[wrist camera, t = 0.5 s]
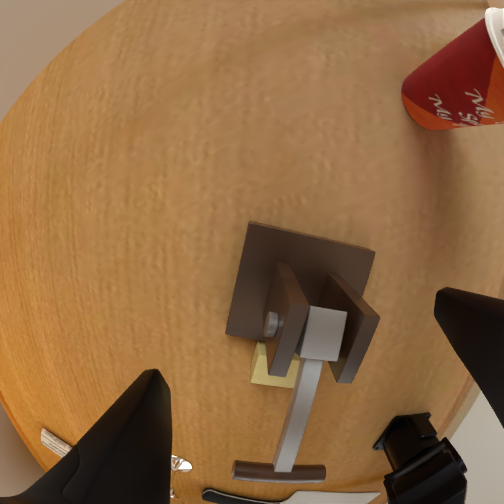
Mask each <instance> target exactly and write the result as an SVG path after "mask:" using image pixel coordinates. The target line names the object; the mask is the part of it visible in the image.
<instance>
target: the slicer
mask: <svg viewBox="0 0 504 504" xmlns="http://www.w3.org/2000/svg"><path fill="white" fill-rule="evenodd" d="M375 253H376V252H374V251H372V250H370V249H367V248H363V247H359V246H355V245H351V244H347V243H343V242H339V241H335V240H331V239H327V238H323V237H318V236H314V235H310V234H306V233H301V232H297V231H293V230H288V229H284V228H280V227H275V226H271V225H266V224H262V223H257V222H252V221H249V224H248V228H247V233H246V238H245V242H244V247H243V251H242V256H241V261H240V265H239V270H238V275H237V279H236V284H235V289H234V293H233V298H232V303H231V308H230V312H229V317H228V322H227V327H226V332H225V334H228V335H233V336H238V337H243V338H248V339H254V340H259V341H265V346H266V358H267V369H268V375H270V376H278V377H286V375H287V372H288V369H289V367H290V364H291V361H292V358H293V355H294V353H295V350H296V347H297V344H298V341H299V338H300V335H301V332H302V329H303V326H304V323H305V320H306V317H307V313H308V310H309V307H310V306H315V307H321V308H326V309H332V310H338V311H345V312H347V317H346V323H345V328H344V333H343V338H342V342H341V347H340V351H339V356H338V360H337V361H328V363H329V366H330V368H331V370H332V373H333V375H334V378H335V380H336V382H337V383H352V381H353V379H354V377H355V375H356V373H357V371H358V369H359V367H360V364H361V362H362V360H363V358H364V356H365V353H366V351H367V349H368V347H369V344H370V342H371V340H372V337H373V335H374V332H375V330H376V328H377V325H378V323H379V320H380V316H379V315H378V314H377V313H376V312H375V311H374V310H373V309H372V308H371V307H370V306H369V305H368V304H367V303H366V301H365V300H364V299H363V298H362V295H363V292H364V289H365V286H366V283H367V279H368V276H369V273H370V270H371V267H372V263H373V260H374V256H375Z"/></svg>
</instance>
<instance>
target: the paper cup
mask: <svg viewBox="0 0 504 504" xmlns="http://www.w3.org/2000/svg"><path fill="white" fill-rule="evenodd" d="M402 99H403V102H404V105H405V107H406V109H407V111H408V113H409V114H410V116H411V117H412V118H413V119H414V120H415V121H416V122H417V123H418V124H419V125H420V126H422V127H424V128H426V129H429V130H444V129H453V128H461V127H470V126H480V125H491V124H504V8H503V9H498V8H488V9H487V10H486V12H485V18H483V19H482V20H480V21H479V22H478V23H476V24H475V25H473V26H472V27H471V28H469V29H468V30H467V31H465V32H464V33H463V34H461V35H460V36H458V37H457V38H456V39H454V40H453V41H452V42H450V43H449V44H448V45H446V46H445V47H444V48H442V49H441V50H440V51H439V52H437V53H436V54H435V55H433V56H432V57H431V58H430V59H428V60H427V61H426V62H424V63H423V64H422V65H421V66H419V67H418V68H417V69H416V70H415V71H413V72H412V73H411V74H410V75H409V76H408V77H407V78H406V79H405V80H404V82H403V85H402Z"/></svg>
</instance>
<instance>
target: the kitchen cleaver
mask: <svg viewBox="0 0 504 504" xmlns="http://www.w3.org/2000/svg"><path fill="white" fill-rule="evenodd" d="M379 494H380V492H363V493H337V492H319V491H296V492H295V493H294V494H293V495H292V496H291V497H290V498H289V499H287V500H286V501H283V502H279V501H262V500H255V499H250V498H244V497H240V496H235V495H231V494H226V493H222V492H219V491H216V490H213V489H210V488H207V489H205V490H204V491H203V493H202V499H203V500H205V501H209V502H214V503H218V504H368V503H369V502H370V501H371V500H373V499H374V498H375V497H377V496H378V495H379Z"/></svg>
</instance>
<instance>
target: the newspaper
mask: <svg viewBox="0 0 504 504" xmlns="http://www.w3.org/2000/svg"><path fill="white" fill-rule="evenodd" d="M41 441H42V444H43V445H45V446H46V447H48V448H49V449H51V450H52V451H54V452H55V453H57V454H58V455H60V456H61V457H64V456H65V455H66V454H67V453H68V452H69V451H70V450H71V449H72V447H71V446H70V445H68V444H67V443H65V442H64V441H62V440H60V439H59V438H57V437H56V436H55V435H53V434H52V433H50V432H49V431H47V430H46V429H45V428H43V429H42V431H41ZM171 495H173V496H175V494H171Z"/></svg>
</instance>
